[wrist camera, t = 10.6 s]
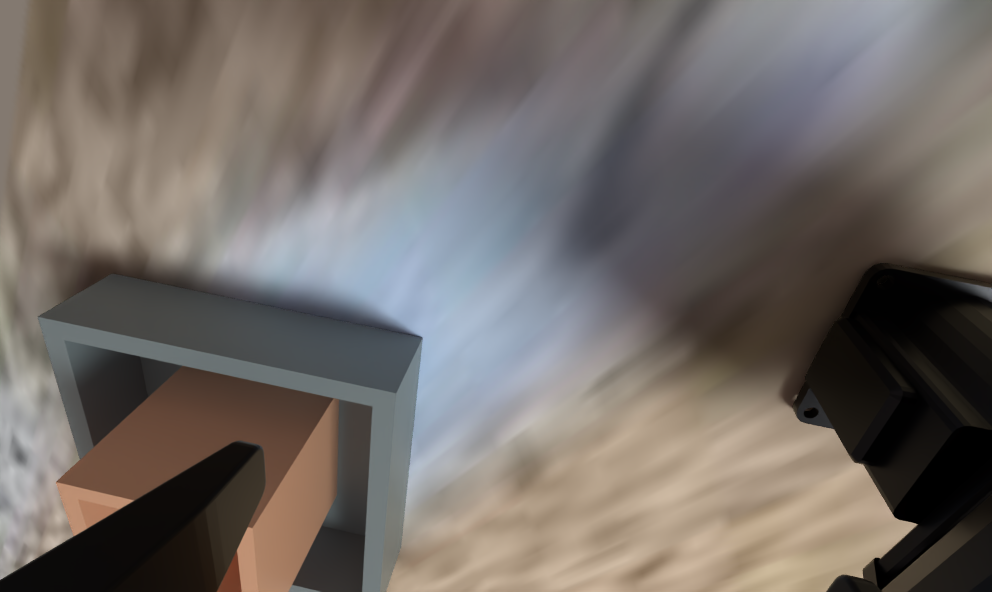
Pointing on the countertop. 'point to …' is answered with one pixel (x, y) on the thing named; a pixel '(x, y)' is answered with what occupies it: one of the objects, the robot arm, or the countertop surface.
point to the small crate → (203, 431)
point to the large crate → (262, 358)
